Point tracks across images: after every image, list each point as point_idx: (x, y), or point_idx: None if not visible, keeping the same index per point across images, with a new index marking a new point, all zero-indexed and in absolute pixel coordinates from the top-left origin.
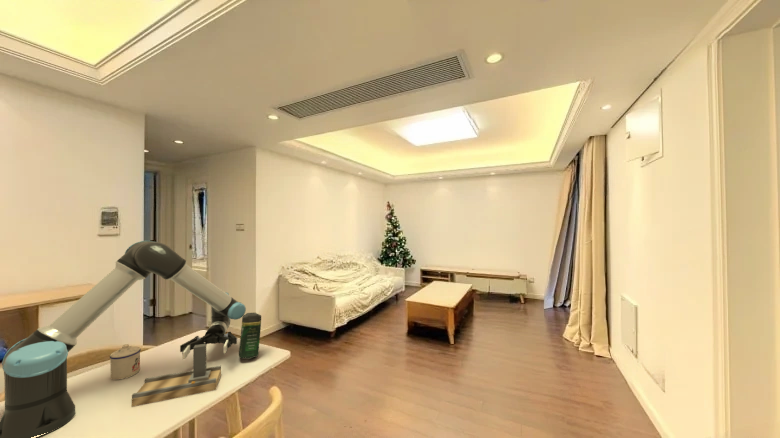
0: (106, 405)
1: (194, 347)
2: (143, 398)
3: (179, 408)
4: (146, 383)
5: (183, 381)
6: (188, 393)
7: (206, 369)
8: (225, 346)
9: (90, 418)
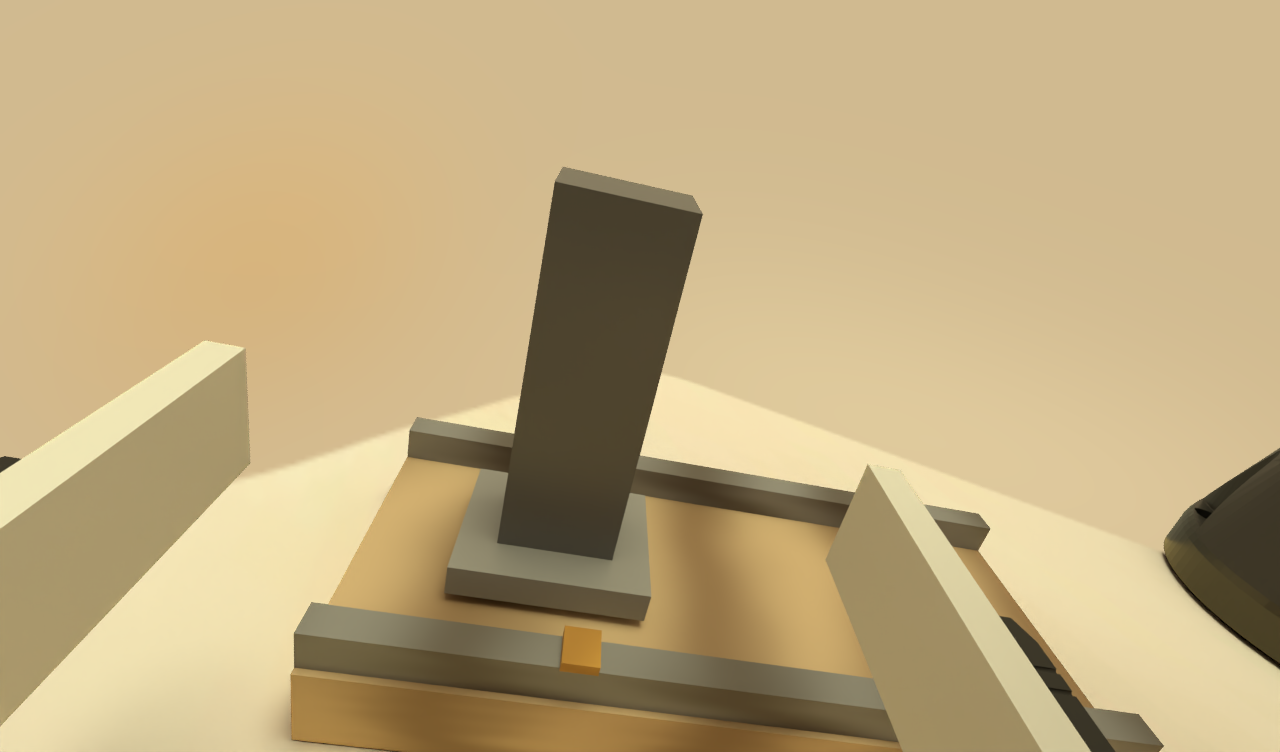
0: (1161, 672)
1: (682, 194)
2: None
3: None
4: None
5: (700, 582)
6: None
7: (497, 632)
8: (208, 346)
9: (1091, 573)
